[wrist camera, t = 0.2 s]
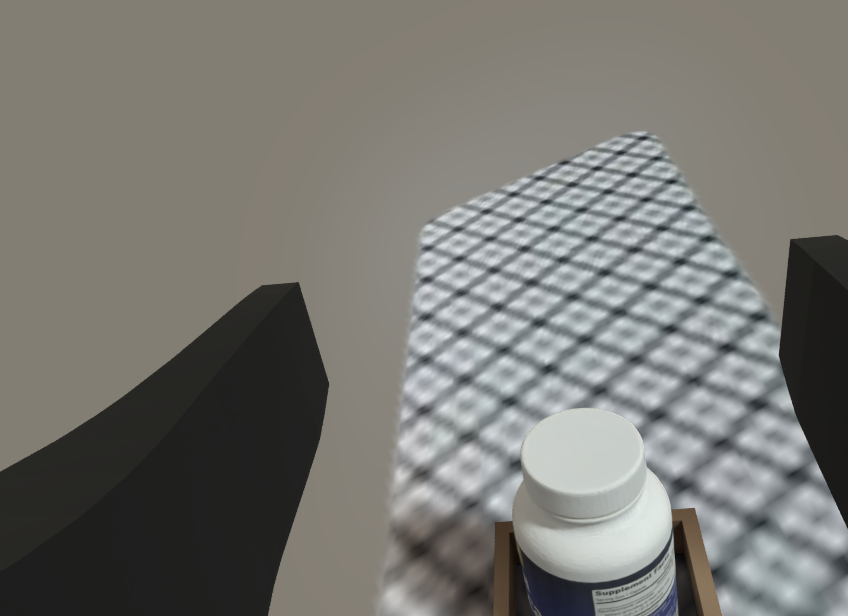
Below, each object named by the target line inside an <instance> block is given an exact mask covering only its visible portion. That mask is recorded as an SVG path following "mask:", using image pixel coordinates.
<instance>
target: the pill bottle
mask: <svg viewBox="0 0 848 616" xmlns="http://www.w3.org/2000/svg"><path fill="white" fill-rule="evenodd" d="M520 457H521V464H522V470H523V478H524V480H523V482H522V483H521V485H520V487H519V489H518V491H517V493H516V496H515V499H514V502H513V509H512V519H513V527H514V534H515V540H516V543H517V548H518V553H519V557H520V562H521V566H522V572H523V576H524V580H525V585H526V589H527V595H528V598H529V603H530V607H531V612H532V616H678V599H677V585H676V569H675V555H674V538H673V522H672V514H671V506H670V501H669V498H668V495H667V493H666V491H665V489H664V487H663V485H662V483H661V482H660V480H659V479H658V478H657V477H656V476H655V475H654V474H653V472H652V471H650V470H649V469H648V468H647V466H646V460H645V452H644V444H643V441H642V438H641V436H640V434H639V432H638V431H637V430H636V428H635V427H634V426H633V425H632V424H631V423H630V422H629V421H627V420H626V419H625V418H623V417H621V416H619V415H617V414H615V413H612V412H609V411H606V410H601V409H593V408H578V409H570V410H565V411H562V412H558V413H556V414H553V415H551V416H549V417H547V418H545V419H543V420H542V421H540V422H539V423H537V424H536V425H535V426H534V427H533V428H532V429H531V430H530V431H529V432H528V434H527V435H526V437H525V439H524V441H523V443H522V447H521V453H520Z"/></svg>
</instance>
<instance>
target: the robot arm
mask: <svg viewBox="0 0 848 616" xmlns="http://www.w3.org/2000/svg"><path fill="white" fill-rule="evenodd" d="M779 358H780V362H781V365H782V369H783V373H784V376H785V380H786V384H787V387H788V391H789V394H790V397H791V401H792V404H793V407H794V410H795V414H796V416H797V419H798V421H799V423H800V425H801V428H802V430H803V432H804V434H805V437H806V439H807V441H808V443H809V446H810V448H811V450H812V452H813V454H814V457H815V459H816V461H817V463H818V465H819V468H820V470H821V472H822V474H823V476H824V478H825V481H826V483H827V485H828V487H829V489H830V491H831V494H832V496H833V498H834V500H835V502H836V505H837V507H838V509H839V511H840V513H841V515H842V518H843V520H844V522H845V524H846V526H847V528H848V240H846V239H844V238H842V237H840V236H838V235H834V236H822V237H811V238H799V239H790V248H789V258H788V269H787V279H786V289H785V299H784V309H783V319H782V329H781V339H780V349H779ZM328 388H329V382H328V378H327V375H326V372H325V368H324V365H323V362H322V359H321V355H320V352H319V348H318V345H317V342H316V338H315V335H314V332H313V328H312V325H311V322H310V319H309V315H308V312H307V309H306V305H305V302H304V299H303V295H302V292H301V288H300V285H299V283H298V282H296V283H285V284H273V285H262V286H261V287H259V288H258V289H256V290H255V291H253V292H252V293H251V294H249V295H248V296H247V297H245V298H244V299H243V300H242V301H240V302H239V303H238V304H237V305H236V306H234V307H233V308H232V309H231V310H230V311H228V312H227V313H226V314H225V315H224V316H222V317H221V318H220V319H219V320H218V321H217V322H215V323H214V324H213V325H212V326H211V327H210V328H208V329H207V330H206V331H205V332H204V333H203V334H201V335H200V336H199V337H198V338H196V339H195V340H194V341H193V342H192V343H191V344H189V345H188V346H187V347H186V348H185V349H183V350H182V351H181V352H180V353H179V354H177V355H176V356H175V357H174V358H172V359H171V360H170V361H169V362H167V363H166V364H165V365H163V366H162V367H161V368H160V369H158V370H157V371H156V372H154V373H153V374H152V375H151V376H149V377H148V378H147V379H145V380H144V381H143V382H141V383H140V384H139V385H138V386H136V387H135V388H134V389H132V390H131V391H130V392H129V393H127V394H126V395H125V396H124V397H122V398H120V399H119V400H118V401H116V402H115V403H113V404H112V405H110V406H109V407H108V408H106V409H105V410H103V411H102V412H100V413H99V414H97V415H96V416H94V417H93V418H91V419H90V420H88V421H86V422H85V423H83V424H82V425H80V426H79V427H77V428H76V429H74V430H73V431H71V432H69V433H68V434H66V435H65V436H63V437H61V438H60V439H58V440H56V441H55V442H53V443H51V444H49V445H48V446H46V447H44V448H42V449H41V450H39V451H37V452H35V453H33V454H31V455H30V456H28V457H26V458H24V459H22V460H21V461H19V462H17V463H15V464H13V465H12V466H10V467H8V468H6V469H4V470H3V471H1V472H0V616H268V611H269V607H270V602H271V597H272V593H273V587H274V584H275V580H276V576H277V572H278V569H279V565H280V562H281V558H282V555H283V552H284V549H285V546H286V543H287V540H288V537H289V533H290V531H291V528H292V524H293V522H294V518H295V515H296V512H297V509H298V506H299V503H300V500H301V497H302V494H303V491H304V488H305V485H306V481H307V479H308V476H309V472H310V469H311V466H312V463H313V460H314V457H315V453H316V450H317V447H318V444H319V440H320V436H321V431H322V425H323V420H324V414H325V408H326V401H327V394H328Z"/></svg>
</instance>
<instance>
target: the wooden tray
mask: <svg viewBox="0 0 848 616" xmlns="http://www.w3.org/2000/svg"><path fill="white" fill-rule="evenodd" d="M671 514H672V522H673V538H674V554H684V557H685V561H686V566H687V570H688V575H689V579H690V584H691V588H692V592H693V597H694V601H695V606H696V610H697V615H698V616H722V614H721V610H720V606H719V602H718V598H717V594H716V590H715V586H714V583H713V579H712V575H711V571H710V567H709V563H708V559H707V555H706V551H705V547H704V543H703V539H702V535H701V531H700V527H699V523H698V519H697V515H696V511H695V508H688V509H674V510H671ZM516 564H521V562H520V557H519V553H518V548H517V543H516V540H515V534H514V527H513V521H509V522H495V557H494V599H493V616H516Z"/></svg>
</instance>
